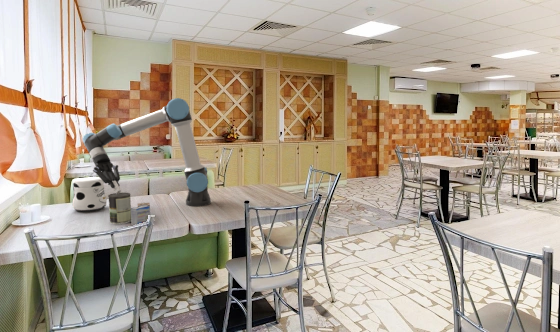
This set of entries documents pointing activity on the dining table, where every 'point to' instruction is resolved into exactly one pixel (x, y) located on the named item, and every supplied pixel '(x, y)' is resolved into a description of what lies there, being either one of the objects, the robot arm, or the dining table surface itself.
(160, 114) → the robot arm
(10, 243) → the dining table surface
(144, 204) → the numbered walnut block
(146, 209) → the medicine box
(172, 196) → the dining table surface
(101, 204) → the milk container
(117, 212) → the coffee can
